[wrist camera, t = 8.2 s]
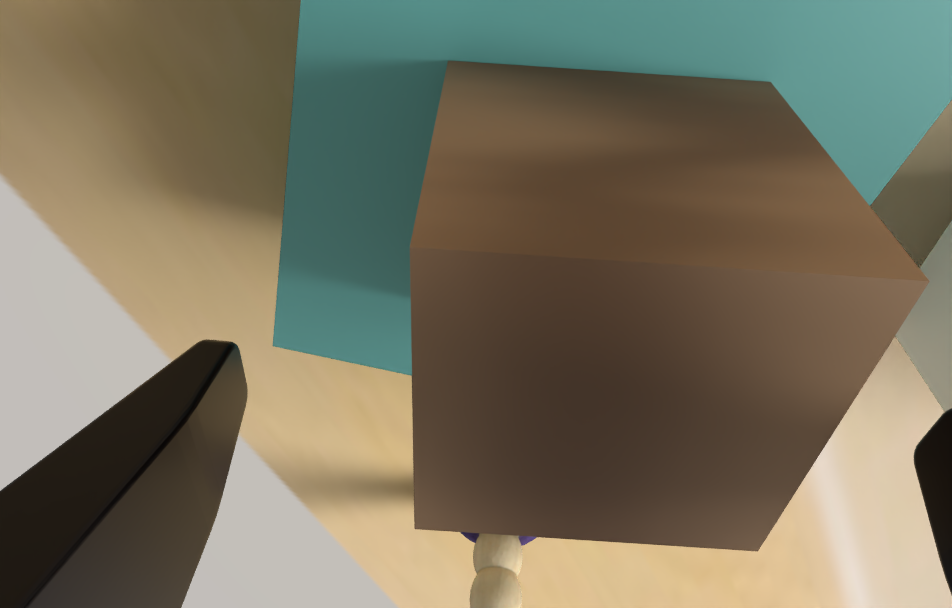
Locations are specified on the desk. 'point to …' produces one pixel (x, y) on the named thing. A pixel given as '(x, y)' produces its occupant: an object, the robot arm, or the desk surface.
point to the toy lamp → (496, 570)
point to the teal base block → (560, 46)
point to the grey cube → (933, 323)
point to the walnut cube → (635, 306)
